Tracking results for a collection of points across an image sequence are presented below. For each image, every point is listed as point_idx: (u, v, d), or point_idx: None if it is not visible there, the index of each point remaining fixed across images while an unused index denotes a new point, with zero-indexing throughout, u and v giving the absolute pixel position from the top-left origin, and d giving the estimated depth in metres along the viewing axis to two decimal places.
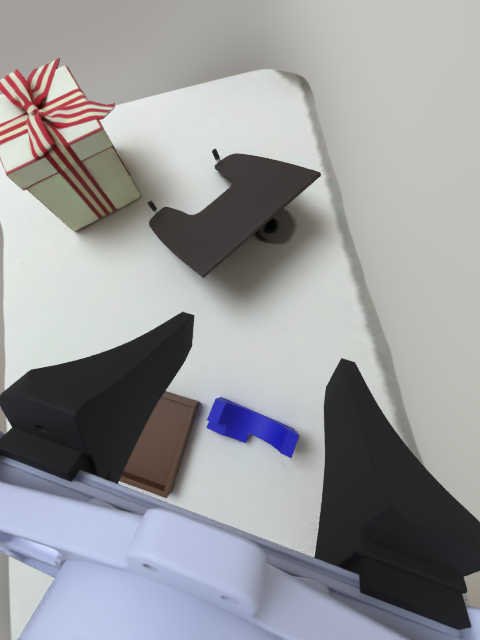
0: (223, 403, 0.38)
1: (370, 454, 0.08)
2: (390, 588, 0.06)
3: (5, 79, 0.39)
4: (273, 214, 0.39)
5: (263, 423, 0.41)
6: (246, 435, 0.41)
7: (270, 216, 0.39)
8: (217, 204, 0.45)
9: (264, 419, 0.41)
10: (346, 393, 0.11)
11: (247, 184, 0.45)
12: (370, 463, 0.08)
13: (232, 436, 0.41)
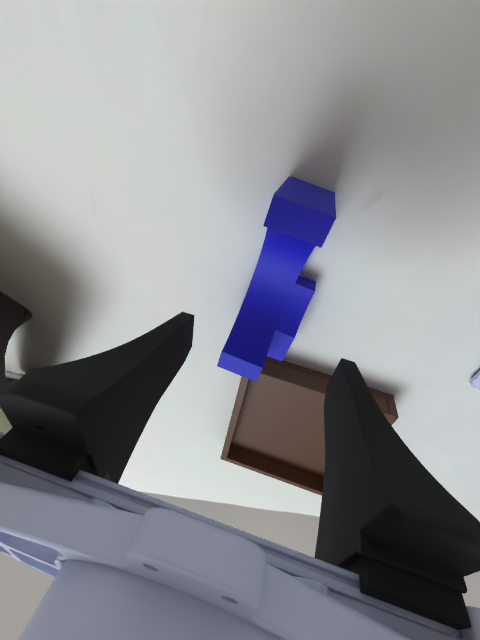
0: (223, 355, 0.19)
1: (370, 454, 0.08)
2: (390, 588, 0.06)
3: None
4: None
5: (273, 256, 0.19)
6: (299, 288, 0.20)
7: None
8: None
9: (266, 254, 0.19)
10: (346, 393, 0.11)
11: None
12: (370, 464, 0.08)
13: (299, 316, 0.21)
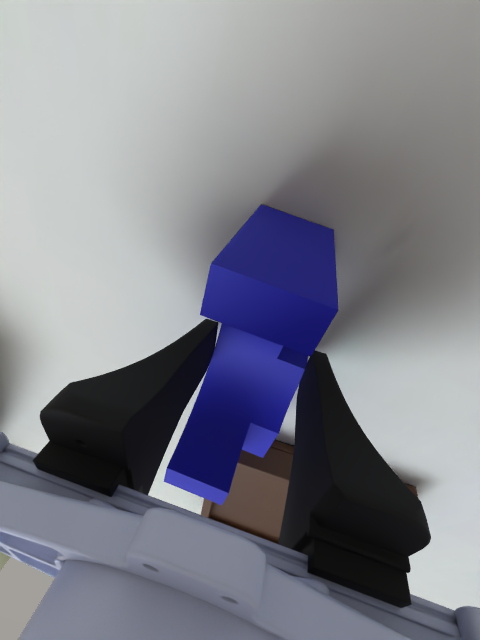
0: (169, 471, 0.13)
1: (324, 439, 0.08)
2: (335, 567, 0.07)
3: None
4: None
5: None
6: (284, 365, 0.13)
7: None
8: None
9: None
10: (313, 383, 0.11)
11: None
12: (323, 448, 0.08)
13: (285, 402, 0.14)
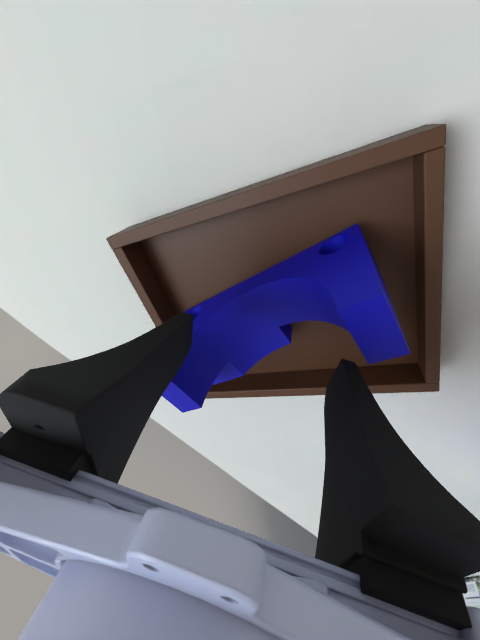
0: None
1: (371, 454, 0.08)
2: (391, 588, 0.06)
3: None
4: None
5: (281, 294, 0.15)
6: (279, 333, 0.17)
7: None
8: None
9: (275, 287, 0.15)
10: (346, 393, 0.11)
11: None
12: (370, 464, 0.08)
13: (260, 356, 0.18)
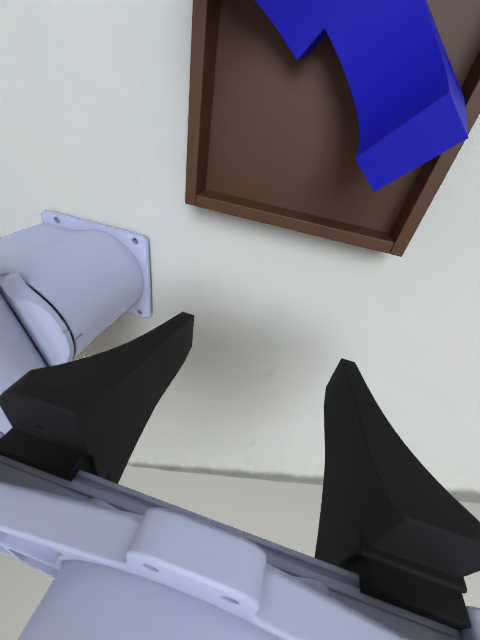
0: None
1: (370, 454, 0.08)
2: (390, 588, 0.06)
3: None
4: None
5: (390, 12, 0.10)
6: (312, 32, 0.12)
7: None
8: None
9: None
10: (346, 393, 0.11)
11: None
12: (370, 463, 0.08)
13: (268, 7, 0.12)
